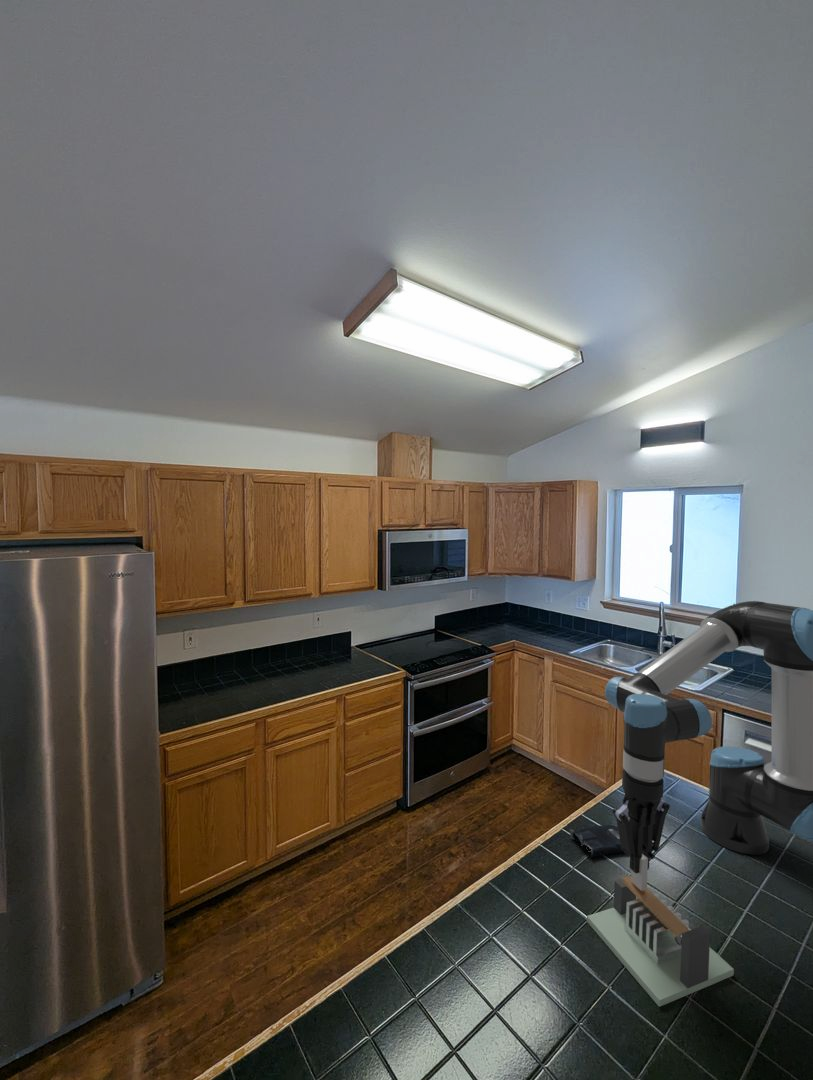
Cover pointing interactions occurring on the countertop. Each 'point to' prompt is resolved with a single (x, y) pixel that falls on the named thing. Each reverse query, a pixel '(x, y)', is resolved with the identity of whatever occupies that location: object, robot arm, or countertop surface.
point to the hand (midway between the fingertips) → (638, 885)
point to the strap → (658, 910)
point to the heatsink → (652, 931)
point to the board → (667, 978)
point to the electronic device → (599, 839)
